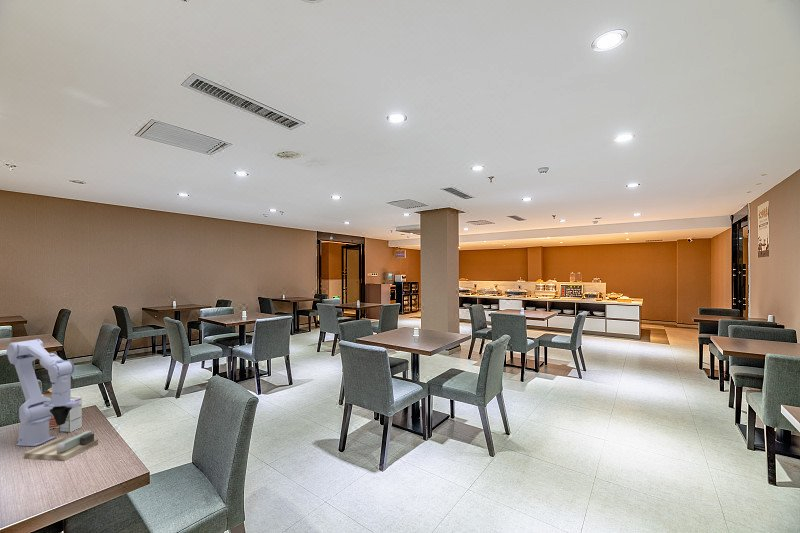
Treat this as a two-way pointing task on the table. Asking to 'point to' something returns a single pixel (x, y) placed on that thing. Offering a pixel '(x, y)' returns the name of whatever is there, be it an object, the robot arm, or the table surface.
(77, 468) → the table surface
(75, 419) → the syrup box
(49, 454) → the stool seat
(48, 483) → the table surface
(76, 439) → the stool leg
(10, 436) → the table surface
